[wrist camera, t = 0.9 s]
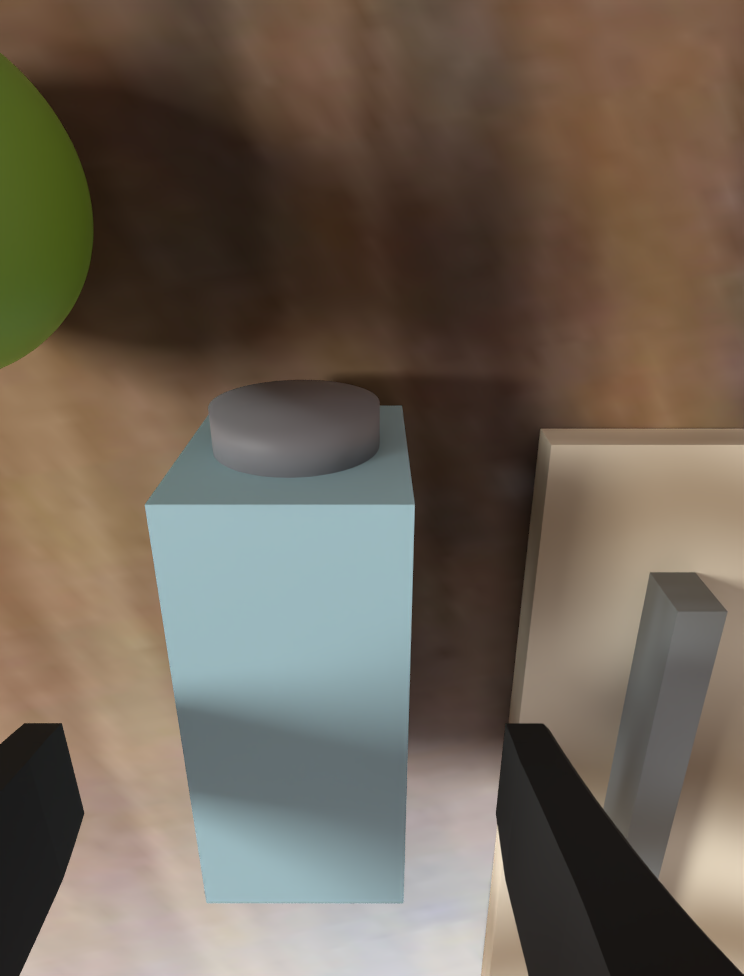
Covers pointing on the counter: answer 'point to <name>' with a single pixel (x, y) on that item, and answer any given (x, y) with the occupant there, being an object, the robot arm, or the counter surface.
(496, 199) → the counter surface
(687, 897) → the jig board
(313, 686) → the pale blue tall carton
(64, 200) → the snail figurine
